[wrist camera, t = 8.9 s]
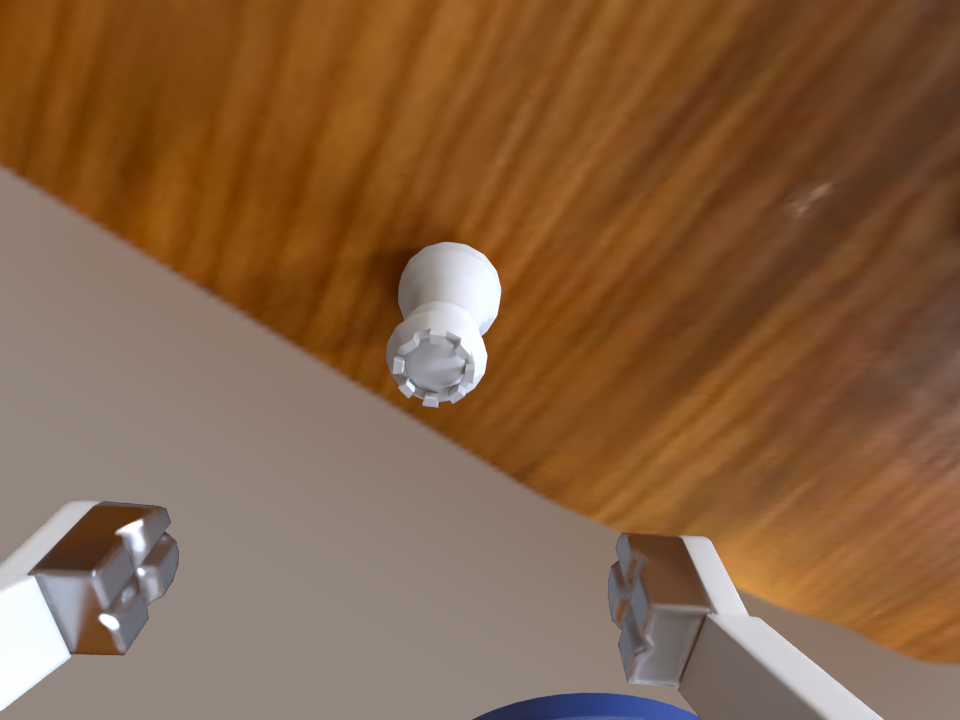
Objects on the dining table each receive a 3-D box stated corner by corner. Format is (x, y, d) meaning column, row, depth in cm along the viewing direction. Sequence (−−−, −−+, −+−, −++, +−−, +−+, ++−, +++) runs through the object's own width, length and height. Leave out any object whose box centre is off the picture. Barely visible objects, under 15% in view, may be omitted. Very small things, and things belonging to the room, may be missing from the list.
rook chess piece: (515, 258, 22) (528, 330, 15) (482, 347, 24) (479, 448, 17) (416, 224, 22) (380, 282, 15) (389, 317, 24) (346, 410, 17)
